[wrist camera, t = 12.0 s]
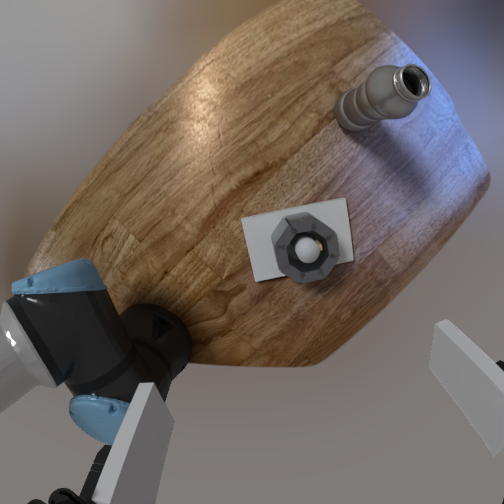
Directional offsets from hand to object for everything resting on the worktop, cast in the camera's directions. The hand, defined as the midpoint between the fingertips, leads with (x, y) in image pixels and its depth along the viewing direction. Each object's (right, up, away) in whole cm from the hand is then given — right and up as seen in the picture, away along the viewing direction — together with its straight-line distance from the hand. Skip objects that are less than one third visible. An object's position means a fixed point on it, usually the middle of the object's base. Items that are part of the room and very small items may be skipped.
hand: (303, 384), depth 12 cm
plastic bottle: (+13, +27, +28) cm, 41 cm away
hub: (+5, +7, +32) cm, 34 cm away
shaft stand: (+5, +8, +33) cm, 35 cm away
